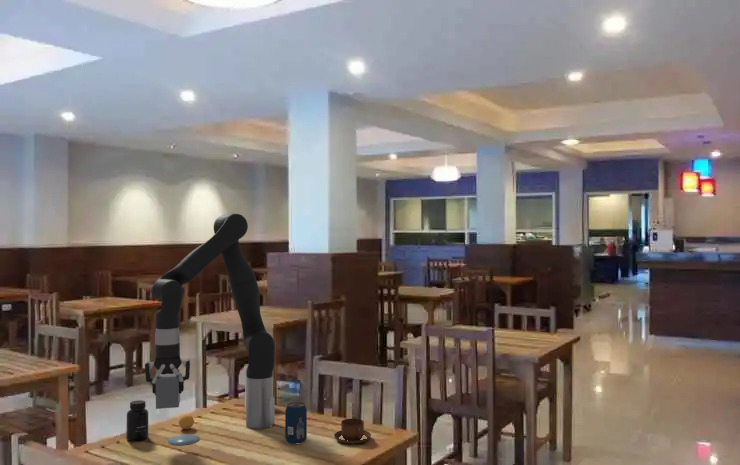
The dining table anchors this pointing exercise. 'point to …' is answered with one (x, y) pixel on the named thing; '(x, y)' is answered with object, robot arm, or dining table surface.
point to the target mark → (183, 440)
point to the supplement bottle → (137, 421)
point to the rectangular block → (167, 391)
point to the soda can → (296, 422)
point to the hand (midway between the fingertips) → (168, 393)
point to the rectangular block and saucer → (352, 431)
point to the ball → (186, 421)
